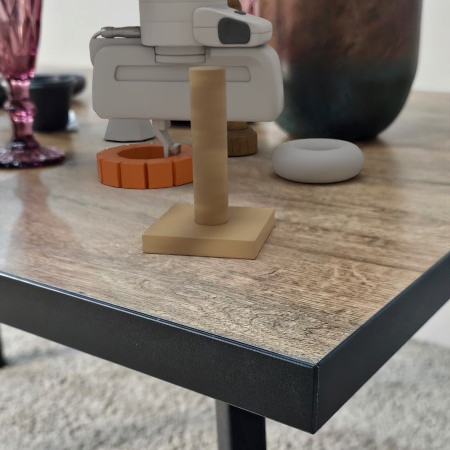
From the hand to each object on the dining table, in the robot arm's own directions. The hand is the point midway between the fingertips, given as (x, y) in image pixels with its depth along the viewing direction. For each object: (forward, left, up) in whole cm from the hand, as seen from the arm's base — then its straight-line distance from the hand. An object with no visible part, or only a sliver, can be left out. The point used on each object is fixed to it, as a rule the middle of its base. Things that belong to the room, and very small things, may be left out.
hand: (189, 161), depth 80 cm
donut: (+14, +3, -2) cm, 14 cm away
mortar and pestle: (+2, +14, -2) cm, 14 cm away
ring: (-4, 0, -2) cm, 5 cm away
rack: (+8, -20, -2) cm, 21 cm away
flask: (-14, +21, -2) cm, 26 cm away
